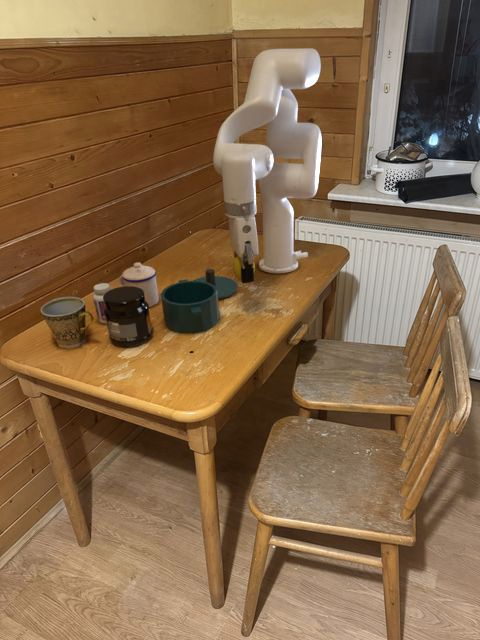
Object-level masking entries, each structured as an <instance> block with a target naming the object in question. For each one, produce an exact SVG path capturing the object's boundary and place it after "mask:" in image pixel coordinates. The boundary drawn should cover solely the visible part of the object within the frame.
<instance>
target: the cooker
mask: <svg viewBox="0 0 480 640" xmlns="http://www.w3.org/2000/svg"><path fill="white" fill-rule="evenodd" d="M160 301H161V307H162V315H163V321H164V325H165V327H166V328H167V329H168V330H170V331H172V332H175V333H179V334H198V333H201V332H202V333H203V332H205V331H208V330H210V329H212V328H214V327H215V326H216V325H217V324H218V323H219V321H220V305H219V299H218V291H217V289H216V287H215V286H214V285H212V284H210V283H208V282H203V281H193V280H188V279H180V280H178V282H175V283H173V284H170V285H167V287H165V288H163V289H162V291H161V293H160Z"/></svg>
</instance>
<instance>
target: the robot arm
mask: <svg viewBox="0 0 480 640" xmlns="http://www.w3.org/2000/svg"><path fill="white" fill-rule="evenodd" d="M321 67H322V62H321V56H320V54H319V52H318V50H316V49H315V48H312V47H311V48H310V47H309V48H308V47H306V48H272V49H266V50H263V51H261V52H260V53H259V54H257V55H256V57H255V58H254V61H253V64H252V66H251V71H250V75H249V79H248V84H247V89H246V92H245V97H244V100H243V101H244V102H243V103H242V104H241V105H240V106H238V107H237V108H236V109H235V110H234V111H233V112H231V114H230V115H229V116H228V117H226V119H225V120H224V121H223V123H221V126H220V128H219V129H218V133H217V136H216V140H215V145H214V149H213V156H212V157H213V158H212V161H213V162H212V163H213V168H214V170H215V171H216V173H217V174H218V175H219V176H222V191H223V203H224V205H223V206H224V215H225V216H226V217H228V231H229V232H228V233H229V242H230V246H231V248H232V249H233V260H234V259H235V258H236V256H237V255H238V256H239V257H240V258H241V264H242V268H241V280H240V281H241V284H249V283H254V282H255V271H254V265H255V258H254V256H255V257H257V256H258V255H259V240H258V233H257V231H258V229H257V223H256V217H255V215H256V214H258V213H257V193H256V189H257V188H256V181H257V183H258V187H259V193H260V199H261V212H262V213H261V216H262V249H263V251H262V252H263V253H262V256H263V257H262V259H260V260H259V262H258V268H259V269H260V270H261V271H263V272H265V273H269V274H287V273H291V272H294V271H295V270H297V269H298V268H299V260H301V259H302V260H303V259H308V258H309V253H308V252H307V251H306V252H305V251H304V252H302V250H298V251H295V250H294V239H295V238H294V231H295V230H294V224H295V223H294V222H295V221H294V220H295V214H294V207H293V206H292V204H291V203H290V200H289V199H298V200H299V199H301V200H302V199H304V200H309V199H312V198H314V197H315V196H316V194H317V192H318V188H319V180H320V169H321V157H322V143H323V142H322V132H321V129H320V127H319V125H317V124H315V123H312V122H298V111H299V103H298V101H297V99H296V96H295V94H294V93H293V91H292V90H304V89H308V88H310V87H312V86H313V85H315V84H316V83H317V81H318V79H319V77H320V74H321V70H322V69H321ZM264 125H266V134H265V144H260V143H259V144H257V143H235V142H236V141H237V140H238V139H239V138H240V137H242V136H243V135H244V134H246V133H248V132H251V131H253V130H256V129H258V128H261V127H263V126H264ZM274 158H276V159H294V160H297V159H298V160H302V162H303V163H290V162H274V161H275V160H274ZM244 253H246V256H243V254H244ZM245 258H247V261H245V263H244V259H245ZM253 263H254V265H253Z"/></svg>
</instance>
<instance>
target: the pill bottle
mask: <svg viewBox="0 0 480 640" xmlns="http://www.w3.org/2000/svg"><path fill="white" fill-rule="evenodd" d="M109 290H111V287H110V284H109V283H105V282H101V283H98V284H95V285H94V286H93V292H94V294H93V295H92V296H93V297H92V300H93V305H94V308H95V313H96V317H97V320H98V322H99V323H101V324H106V325H107V322H106V318H105V315H104V307H105V305H104V300H103V296H104V294H105V293H106V292H108V291H109Z"/></svg>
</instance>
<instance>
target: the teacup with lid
mask: <svg viewBox="0 0 480 640" xmlns="http://www.w3.org/2000/svg"><path fill="white" fill-rule="evenodd" d="M156 274H157V272H156V270H155V268H153V267H151V266H148V265H144V264H142V263H141V262H134V263H133V266H131V267H129V268H127V269H125V270H124V271H123V272H122V273H121V275H120V276H119V277H118V278H119V279H118V282H119V285H120V287H123V286H135V287H139V288H141V289H142V290H143V291H144V294H145V300H146V301H147V303H148V306H149V308H152V307H154V306H156V305H157V304H158V303H159V301H160V296H159V290H158V283H157V276H156Z"/></svg>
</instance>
